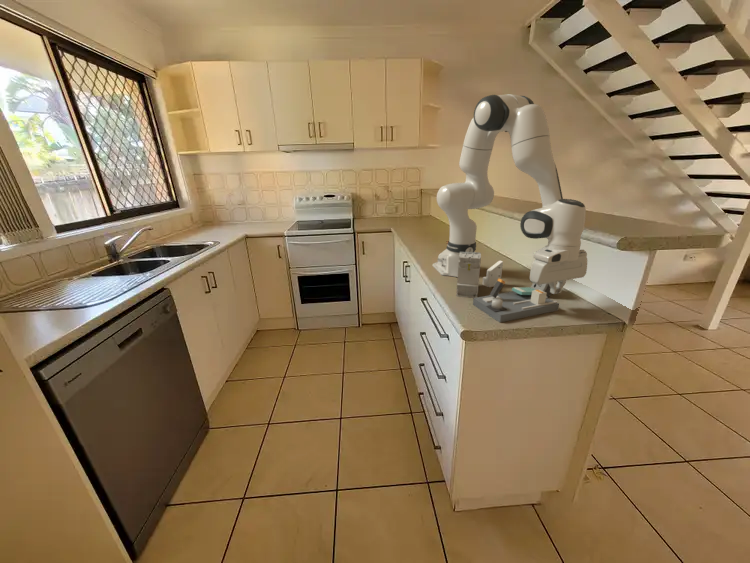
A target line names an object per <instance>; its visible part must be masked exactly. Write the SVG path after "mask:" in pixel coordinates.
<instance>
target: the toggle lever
mask: <svg viewBox="0 0 750 563" xmlns="http://www.w3.org/2000/svg"><path fill="white" fill-rule="evenodd" d="M505 284H506V280H503V279H502V278H501V279H499V278H498V280H497V283H496V284H495V286H493V288H492V290H491V291H490V294H489V295H491V296H493V297H495V298H496V297H497V295H498V294H500V291H501V290H502V288H503V286H504V285H505Z"/></svg>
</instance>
